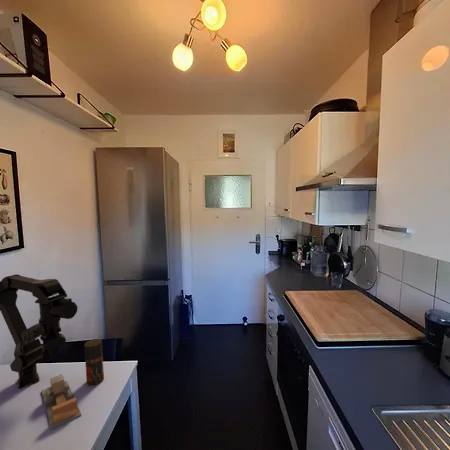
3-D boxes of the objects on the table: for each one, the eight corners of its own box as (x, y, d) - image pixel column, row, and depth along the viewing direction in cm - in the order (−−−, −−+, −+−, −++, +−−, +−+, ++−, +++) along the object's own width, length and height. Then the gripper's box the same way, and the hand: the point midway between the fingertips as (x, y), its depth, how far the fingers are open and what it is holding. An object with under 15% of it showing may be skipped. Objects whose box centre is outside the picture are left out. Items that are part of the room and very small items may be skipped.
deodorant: (105, 381, 102) (103, 343, 101) (87, 388, 99) (85, 348, 98) (102, 373, 107) (100, 337, 106) (85, 379, 104) (83, 341, 103)
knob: (47, 396, 93) (46, 379, 93) (67, 388, 97) (65, 372, 97) (49, 403, 90) (47, 385, 90) (69, 394, 94) (68, 377, 94)
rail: (41, 392, 97) (40, 378, 97) (66, 382, 103) (66, 369, 102) (51, 429, 81) (50, 413, 80) (81, 415, 86) (80, 400, 85)
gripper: (19, 313, 99) (23, 354, 100) (24, 331, 85) (28, 378, 86) (55, 306, 106) (58, 344, 107) (64, 320, 92) (67, 364, 93)
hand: (52, 356), depth 98 cm, fingers open, 3 cm apart
